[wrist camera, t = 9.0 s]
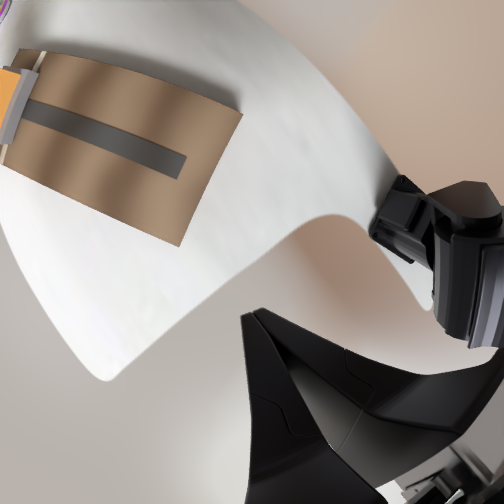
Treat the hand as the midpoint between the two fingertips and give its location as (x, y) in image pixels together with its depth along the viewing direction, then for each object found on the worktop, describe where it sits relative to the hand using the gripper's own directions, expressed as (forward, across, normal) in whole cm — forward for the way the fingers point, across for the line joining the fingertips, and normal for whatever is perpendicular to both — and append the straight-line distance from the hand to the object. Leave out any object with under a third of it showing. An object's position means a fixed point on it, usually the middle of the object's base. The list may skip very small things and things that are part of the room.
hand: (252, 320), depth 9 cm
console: (+16, +6, -8) cm, 19 cm away
